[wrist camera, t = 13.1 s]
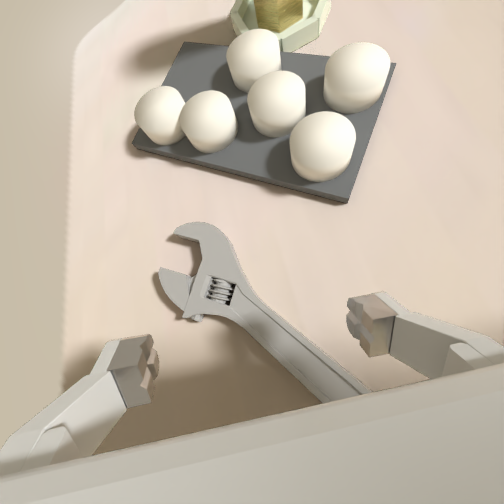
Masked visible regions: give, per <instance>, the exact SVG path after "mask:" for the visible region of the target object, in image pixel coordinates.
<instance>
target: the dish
mask: <svg viewBox="0 0 504 504" xmlns="http://www.w3.org/2000/svg"><path fill="white" fill-rule="evenodd" d="M331 1H332V0H303V18H302V19H301V20H299V21H298V22H296V23H295V24H293V25H292V26H290V27H289V28H287V29H286V30H284V31H282V32H281V33H278V32H274V31H271V32H273V33H274V34H275V35H276V36H277V38H278V41H279V48H280V51H281V52H293V51H295V50H297V49H298V48H300V47H302V46H304V45H306V44H308V43H309V42H311V41H313V40H315V39H317V38H318V37H319V35H320V33H321V31H322V28H323V26H324V23H325V21H326V19H327V16H328V14H329V11H330V9H331ZM230 16H231V20H232V24H233V28H234V32H235V33H236V35H237V37H238V36H239V35H241V34H242V33H244V32H247V31H249V30H253V29H261V28H258V24H257V18H256V12H255V6H254V0H236V2H235V4H234V6H233V8H232V10H231V12H230ZM269 31H270V30H269Z"/></svg>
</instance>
